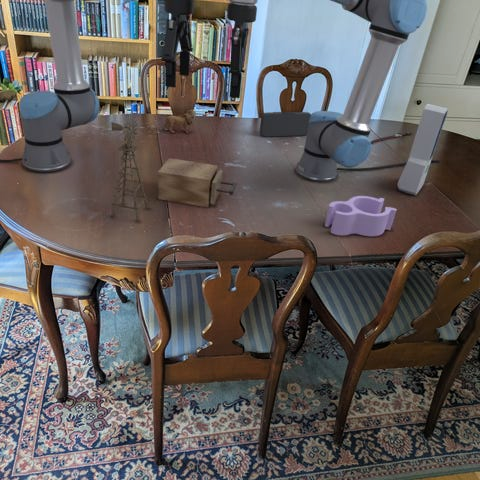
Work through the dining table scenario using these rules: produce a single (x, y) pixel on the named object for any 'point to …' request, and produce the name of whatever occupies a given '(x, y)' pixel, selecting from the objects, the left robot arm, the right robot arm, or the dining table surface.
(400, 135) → the sword
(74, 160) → the dining table surface
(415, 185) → the electronic device
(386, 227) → the clip
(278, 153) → the dining table surface
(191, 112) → the lion figurine
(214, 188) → the drawer
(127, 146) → the miniature windmill
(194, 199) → the cabinet
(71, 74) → the left robot arm
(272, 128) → the handheld gaming console
